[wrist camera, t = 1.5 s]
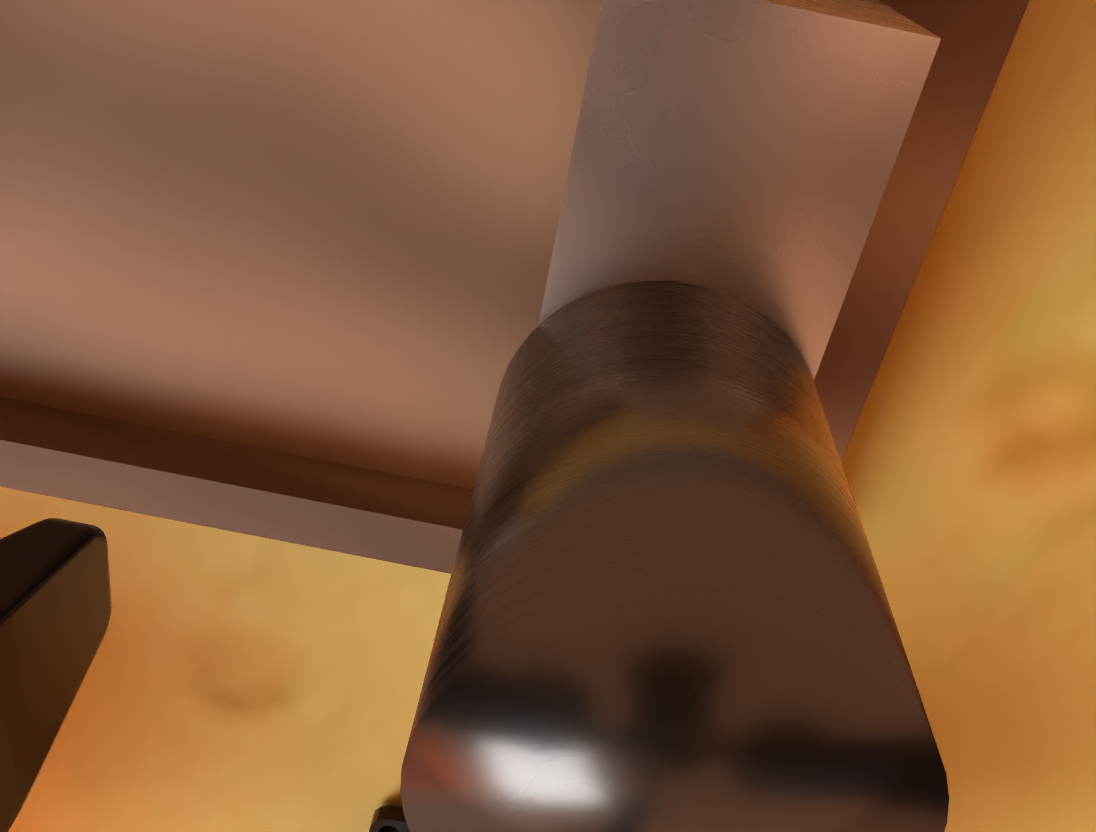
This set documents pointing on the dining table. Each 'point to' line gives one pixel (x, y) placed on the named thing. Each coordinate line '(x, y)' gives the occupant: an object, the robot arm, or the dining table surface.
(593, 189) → the jaw
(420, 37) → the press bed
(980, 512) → the dining table surface
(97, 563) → the robot arm
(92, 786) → the dining table surface
